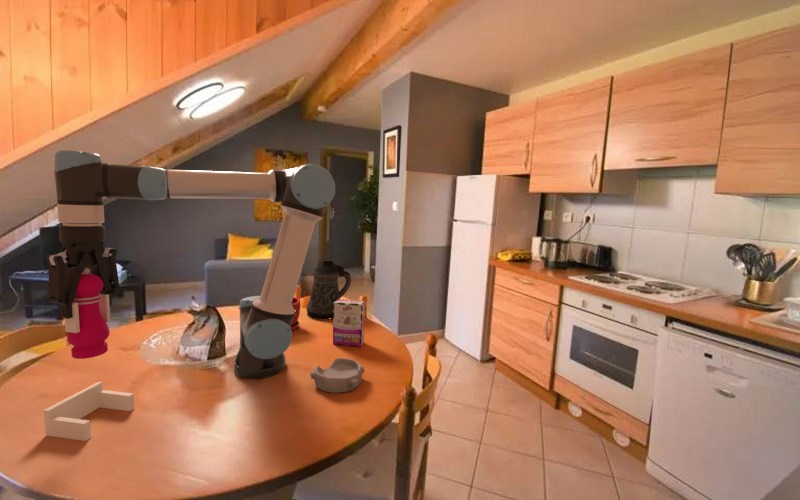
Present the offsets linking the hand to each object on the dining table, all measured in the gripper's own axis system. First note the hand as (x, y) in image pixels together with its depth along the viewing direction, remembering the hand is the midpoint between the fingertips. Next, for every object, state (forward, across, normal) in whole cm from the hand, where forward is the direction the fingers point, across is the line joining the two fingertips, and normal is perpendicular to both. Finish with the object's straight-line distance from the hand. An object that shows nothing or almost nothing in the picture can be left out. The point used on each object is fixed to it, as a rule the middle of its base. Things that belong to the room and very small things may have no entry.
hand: (88, 325), depth 81 cm
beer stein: (+23, -90, +26) cm, 96 cm away
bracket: (+23, 0, 0) cm, 23 cm away
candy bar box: (+23, -58, +45) cm, 77 cm away
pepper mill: (+7, 0, 0) cm, 7 cm away
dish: (+23, -29, +50) cm, 63 cm away
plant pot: (+23, -67, +15) cm, 72 cm away
